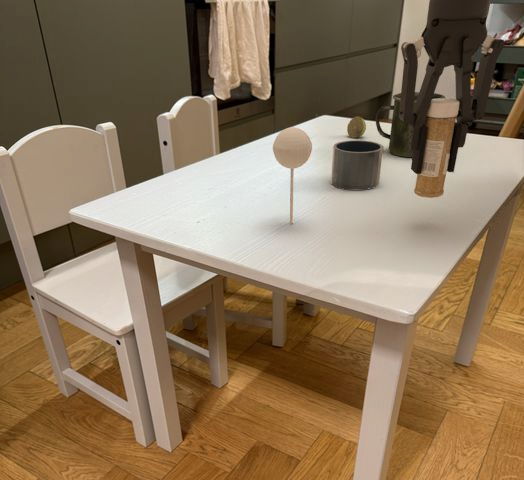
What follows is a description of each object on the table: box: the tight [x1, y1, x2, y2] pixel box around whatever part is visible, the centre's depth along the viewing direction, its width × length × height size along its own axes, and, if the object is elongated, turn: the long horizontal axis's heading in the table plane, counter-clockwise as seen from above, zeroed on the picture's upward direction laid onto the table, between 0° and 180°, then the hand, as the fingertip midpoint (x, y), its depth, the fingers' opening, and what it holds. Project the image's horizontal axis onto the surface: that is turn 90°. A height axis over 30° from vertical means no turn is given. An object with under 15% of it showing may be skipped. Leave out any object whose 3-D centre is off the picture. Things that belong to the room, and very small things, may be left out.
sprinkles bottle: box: [413, 97, 459, 199], centre depth 75 cm, size 5×5×13 cm
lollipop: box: [272, 126, 313, 225], centre depth 79 cm, size 6×6×15 cm
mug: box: [375, 91, 446, 158], centre depth 114 cm, size 11×15×12 cm
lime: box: [346, 115, 367, 139], centre depth 129 cm, size 4×5×5 cm
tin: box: [331, 139, 384, 190], centre depth 98 cm, size 9×9×7 cm
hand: (432, 170), depth 77 cm, fingers closed on sprinkles bottle, 4 cm apart
